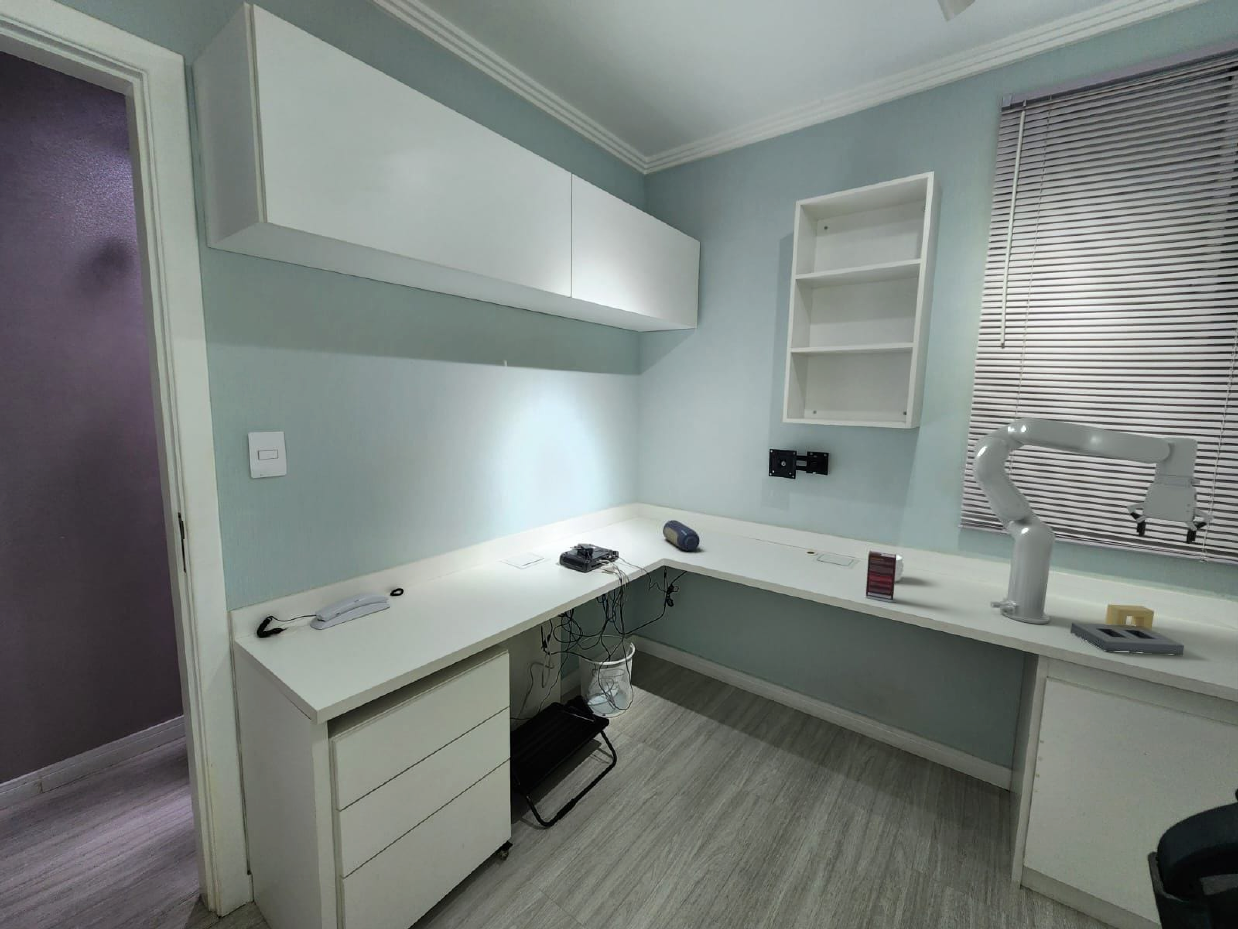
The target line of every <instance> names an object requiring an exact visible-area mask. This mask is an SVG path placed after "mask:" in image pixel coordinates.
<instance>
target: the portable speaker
mask: <svg viewBox="0 0 1238 929" xmlns="http://www.w3.org/2000/svg"><path fill="white" fill-rule="evenodd" d="M662 529H663V530H662V533H663V536H664V537H665V539H667V540H668V541H670V543H672V544H674V545H675V546H677V547H678V548H680V549H681V550H683V551H686V552H692V551H694V550H696V549H697V548H698V547H699V545H700V540H701V539H700V537H699V536H700V535H699V534H698V533H697V532H696V531H695V530H694V529H692V528H690V527H689V526H687V525H685V524H684V523H682V522H680V521H679V520H676V519H674V520H673V519H672V520H668V521H667V522H666V523H665V524H664V526H663V528H662Z"/></svg>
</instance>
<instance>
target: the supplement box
mask: <svg viewBox="0 0 1238 929" xmlns="http://www.w3.org/2000/svg"><path fill="white" fill-rule="evenodd" d="M889 553H890V552H882V551H881V552H880V551H875V550H874V551H873V550H870V551H869V552H868V555H867V557H868V558H867V571H866V587H865V598H866V599H871V600H876V601H877V600H878V601H884V602H888V603H893V602H894V593H895V569H896V555H897V553H896V554H895V553H891V554H889Z"/></svg>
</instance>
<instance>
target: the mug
mask: <svg viewBox="0 0 1238 929" xmlns="http://www.w3.org/2000/svg"><path fill="white" fill-rule="evenodd" d="M888 553H889V554H892V553H890V552H888ZM904 566H905V564H904V563H903V557H902V556H900V555H898V554H896V569H895V582H899V581H900V580H901V579H902V573H903V572H904Z"/></svg>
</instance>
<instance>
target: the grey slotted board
mask: <svg viewBox="0 0 1238 929" xmlns="http://www.w3.org/2000/svg"><path fill="white" fill-rule="evenodd" d="M1070 626H1071V627H1070V633H1071V634H1072V633H1074V634H1075V635H1074V634H1073V635H1074V636H1076V637H1078V638H1079V637H1081V638H1082V639H1081V638H1080V639H1081V640H1083V639H1084V640H1083V641H1085V640H1087V641H1088V642H1089V644H1090V643H1092V644H1094V645H1095V646H1097V647H1099V648H1101V649H1102V650H1106V651H1129V652H1143V653H1150V654H1149V655H1156V654H1174V655H1173V656H1175V655H1183V654H1184V649H1185V645H1184V644H1182V643H1180V642H1178V641H1176V640H1173V639H1172V638H1169V637H1167V636H1166V635H1162V634H1160V633H1158V632H1156V631H1154V630H1152V629H1151V630H1150V629H1148V628H1146V627H1144V626H1134V625H1126V626H1124V625H1109V624H1102V623H1101V624H1100V623H1085V622H1084V623H1083V622H1081V623H1079V622H1072V623H1071V625H1070ZM1088 642H1087V643H1088ZM1092 644H1091V645H1092ZM1094 645H1093V646H1094ZM1095 646H1094V647H1095ZM1097 647H1096V648H1097ZM1099 648H1098V649H1099ZM1101 649H1100V650H1101ZM1102 650H1101V651H1102ZM1151 653H1152V654H1151Z"/></svg>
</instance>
